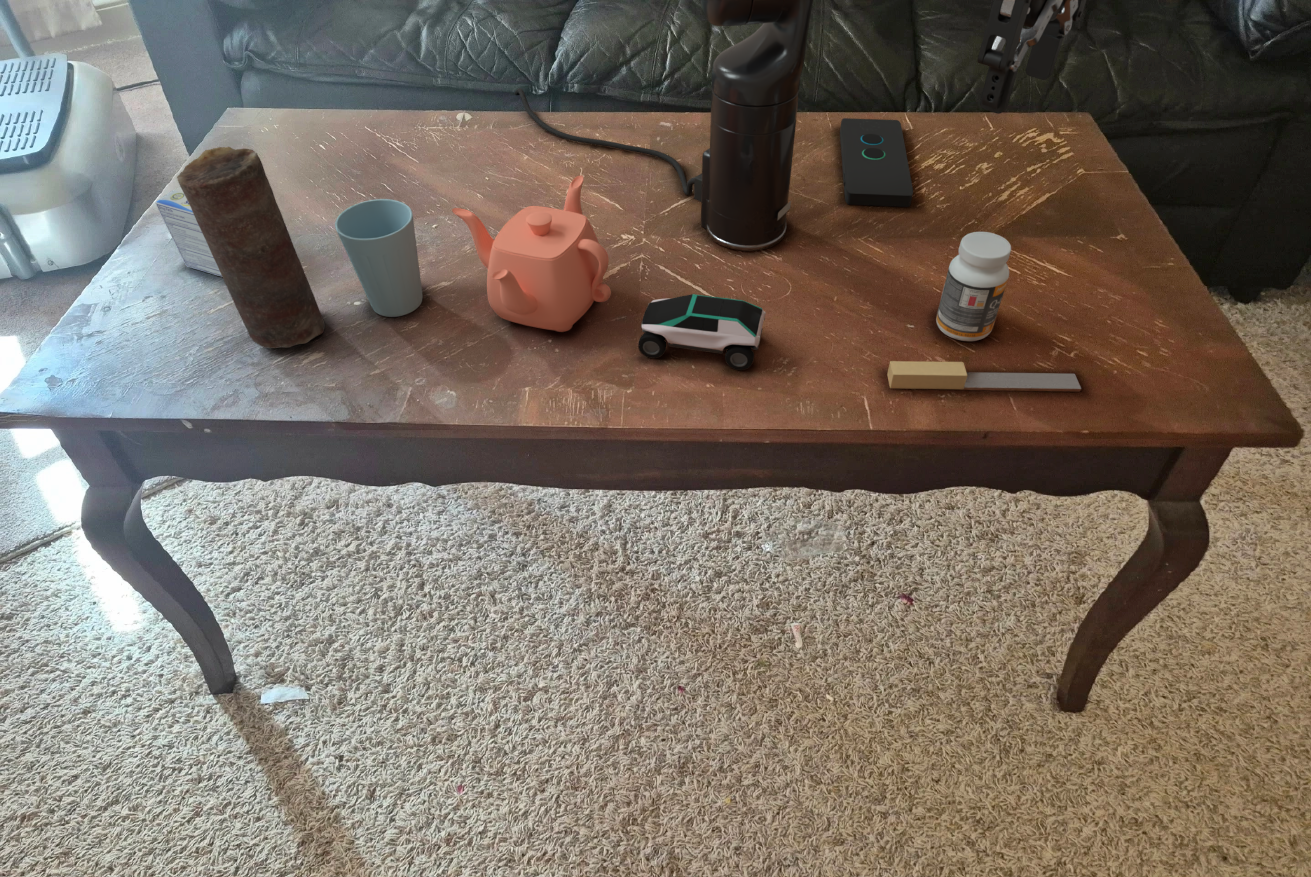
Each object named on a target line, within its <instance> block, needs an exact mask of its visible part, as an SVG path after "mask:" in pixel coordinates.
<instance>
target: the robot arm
mask: <svg viewBox="0 0 1311 877" xmlns="http://www.w3.org/2000/svg"><path fill="white" fill-rule="evenodd" d="M699 1H700V6H701V9H702V12H703V16H704V17H705V19H706V20H707V21H708V23H710V24H711V25H712V26H715V27H735V26H736V27H737V26H748V25H749V26H750V25H759V24H761V26H759V27H758V29H757V30H756V31H754V32H753V33H752V34H751V35H749V36H748V37H746V38H745V39H743V40H741V41H739V42H737V43H735V44H733V45H731V46H729V47H727V48H725V49H724V50H723V51H721V52H720V53H719V54H718V55H717V56H716V58H714V61H713V63H712V66H711V80H710V81H711V83H710V84H711V85H710V86H711V88H710V90H711V91H710V126H709V127H710V131H709V147H708V148H707V149H706V150H704V151H703V153H702V156H701V157H702V158H701V159H702V160H701V173H699V174H698V175H696V176H695V177H691V178H689V179H688V180H687V178H686V174H685V172H684V170H683V168H682V166H681V165H680V163H679V162H678V161H677V160H676V159H675V158H673V156H670V155H669V154H667V153H664V152H661V151H658V150H655V149H651V148H647V147H641V146H635V145H629V144H624V143H619V142H614V141H609V140H603V139H597V138H590V137H584V136H577V135H573V134H569V133H566V132H563V131H560V130H558V129H556V128H553V127H551V126H550V125H549V124H547V123H546V122H544V121H543V120H542V119H541V118H539V116H538V115H537V114H536V113H535V112H534V111H533V110H532V109H531V107H530V104H529V102H528V100H527V97H526V96H527V95H526V94H525V92H524V90H523V89H522V88H520V87H519V88H517V89H516V90H515V91H514V95H515V96H519V97H520V100H521V103H522V105H523V108H524V110H525V112H526V114H527V115H528V116H529V117H530V118H531V119H532V120H533V121H534V123H536V124H537V125H538V126H539V127H540V128H542V130H545V131H546V132H548V133H550V134H551V135H553V136H556V137H559V138H561V139H563V140H568V141H571V142H576V143H581V144H588V145H595V146H602V147H606V148H612V149H617V150H622V151H626V152H632V153H639V154H643V155H647V156H654V157H656V158H658V159H661V160H664V161H665V162H667V163H669V164H670V165H672V166H673V167H674V169H675V170H676V172H677V174H678V177H679V180H680V182H681V186H682V190H683V193H684V195H686V196H691V195H692V194H693V199H694V200H695V201H698V202H699V203H700V204H701V206H700V227H702V228H704V229H705V230H706V232H707V235H708V237H709V238H710V239H711V240H712V241H714V242H715V243H717V244H718V245H720V246H721V247H724V248H727V249H730V250H736V251H746V252H751V251H752V252H753V251H761V250H765V249H768V248H771V247H774V246H775V245H777V244H779V243H780V242H781V241H782V240H783V239H784V237H785V236H786V233H787V215H788V211H789V210H790V209H791V205H792V204H791V203H792V201H791V200H790V201H789V196H790V186H791V177H792V166H793V158H794V156H793V155H794V148H795V137H796V126H797V117H798V116H797V115H798V106H799V96H800V87H801V86H800V85H801V77H802V73H803V69H804V66H805V58H806V50H807V42H808V35H809V29H810V23H811V22H810V21H811V16H812V11H813V10H812V9H813V4H814V0H699ZM1086 3H1087V0H993V1H992V5H991V8H990V12H989V15H988V20H987V23H986V26H985V30H984V33H983V37H982V41H981V45H980V49H979V51H978V55H977V63H978V64H980V65H984V66H986V67H988V69H987V74H986V76H985V81H984V85H983V89H982V91H981V96H980V100H979V106H980V108H981V109H982V110H985V111H988V112H991V113H994V114H997V115H999V114H1002V113H1003V112H1005V111H1006V110H1007V109H1008V107H1009V102H1010V100H1011V96H1012V92H1013V89H1014V85H1015V82H1016V78H1017V76H1018V72H1019V67H1020V66H1021V64H1022V61H1023V59H1024V58H1025V56H1026V54H1027V51H1028V49H1029V48H1030V47H1031V50H1030V53H1029V57H1028V60H1027V64H1026V67H1025V74H1026V75H1027V76H1028V77H1031V78H1035V79H1038V80H1040V81H1041V80H1042V81H1046V80H1048V79H1049V78H1050V77H1052V75H1053V73H1054V70H1055V66H1056V64H1057V60H1058V57H1059V54H1060V52H1061V51H1060V50H1061V48H1062V45H1063V41H1064V38H1065V37H1064V36H1067V35H1068V34H1069V32H1070V31H1071V30H1072V27H1073V22H1079V21H1080V19H1081V18H1082V17H1083V14H1084V10H1085V6H1086ZM1026 27H1027V28H1026ZM1004 46H1005V47H1004ZM1003 49H1004V50H1003ZM693 186H694V187H693ZM693 192H694V193H693Z"/></svg>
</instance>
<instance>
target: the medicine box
mask: <svg viewBox="0 0 1311 877" xmlns="http://www.w3.org/2000/svg"><path fill="white" fill-rule="evenodd" d="M155 206H156V208H157V210H158V212H159V214H160V217H161V218H162V220H163V222H164V225H165V227H166V228H167V230H168V233H169V234H170V236H171V238H172V241H173V242H174V245H175V247H176V249H177V251H178V253H179V256H180V257H181V260H182V261H183V263H184V265H185V266H186V267H188V268H190V269H193V270H198V271H201V272H204V273H208V274H211V275H215V276H218V277H220V278H223V277H222V275H221V273H220V271H219V268H218V266H217V264H216V262H215V260H214V258H213V255H212V253H211V251H210V249H209V246H208V244H207V242H206V240H205V238H204V236H203V233H202V231H201V229H200V227H199V225H198V223H197V221H196V218H195V216H194V214H193V211H192V209H191V207H190V205H189V202H188V200H187V199H186V197H185V195H184V193H183V191H182V189H181V187H180V185H179V186H178V187H176V188H174V189H172V190H171V191H169V192H167V193H166V194H164V195H163V196H162V197H160V198H159V199H158V200H157V201H155Z"/></svg>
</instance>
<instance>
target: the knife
mask: <svg viewBox="0 0 1311 877" xmlns="http://www.w3.org/2000/svg"><path fill="white" fill-rule="evenodd" d="M886 375H887V379H888V385H889V388H890V389H909V390H910V389H912V390H963V391H999V392H1000V391H1001V392H1002V391H1004V392H1005V391H1006V392H1009V391H1010V392H1016V391H1017V392H1072V393H1073V392H1076V393H1077V392H1078V393H1080V392H1081V391H1082V386H1081V385H1080V383H1079V382H1080V381H1079V380H1078V378H1077V376H1076V374H1075V373H1060V372H1059V373H1055V372H1054V373H1053V372H1052V373H1051V372H1050V373H1049V372H1048V373H1047V372H982V371H981V372H979V371H978V372H977V371H976V372H975V371H974V372H973V371H967V369H966V366H965V363H964V362H963V361H922V360H921V361H918V360H917V361H916V360H915V361H913V360H912V361H907V360H906V361H905V360H890V361H889V365H888V370H887V374H886Z"/></svg>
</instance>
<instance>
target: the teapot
mask: <svg viewBox="0 0 1311 877" xmlns="http://www.w3.org/2000/svg"><path fill="white" fill-rule="evenodd" d="M584 180H585V179H584V176H583V175H577V176H575V177H574V178H573V179H572V181H570V184H569V186H568V188H567V193H566V197H565V200H564V201H565V202H564V206H563V209H559V208H554V207H547V206H541V205H528V206H526V207H524V208H522V209H521V210H519V211H518V212H517V213H515V214H514V215H513V216H512V217H511V218H510V219H509V220H507V222H506V223H505V224H504V225H503V227H501V229H500V230H499V231H498V233H497V234H496V236H495V238H493V237H492V236H491V234H490V233H489V231H488V230H487V228H486V226H485V224H484V223H483V221H482V220H481V219H480V218H479V217H478V216H477V215H476V214H475V213H474V212H472V211H470V210H468V209H465V208H460V207H454V208H452V209H451V212H452V213H453V214H454V215H456V216H457V217H458V218H460V219H461V221H463V222H464V224H465V225H466V226H467V228H468V230H469V232H470V235H471V237H472V241H473V244H474V247H475V251H476V254H477V256H478V258H479V260H480V262H481V263H482V265H483V266H484V267H485V269H487V273H486V274H487V275H486V276H487V277H486V290H487V300H488V302H489V306H490V307H491V310H493V311H494V313H495V314H496V315H497V316H498V317H499V318H501V319H502V320H503V319H504V320H506V321H509V322H512V323H516V324H519V325H523V326H527V327H531V328H532V327H533V328H538V329H543V330H549V331H555V332H559V333H564V332H569V331H570V330H571V329H572V328H573V325H574V324H575V323H577V322H578V321H579V320H580V319H581V318H582V317H583V316H584V315H585V314H586V313H587V312H588V311H589V309H590V308H591V307H592V305H593V304H594V302H596V303H604V302H606V301H608V300H609V298H610V297H611V293H612V290H611V288H610V286H608V284H606V283H603V281H604V277H605V275H606V273H607V270H608V267H609V262H610V260H609V259H610V258H609V254H608V251H607V250H606V248H605V247H603V245H601V244H600V242H599V240H598V237H597V235H596V233H595V231H594V228H593V226H592V224H591V222H590V221H589V218H588V217H587V216H585V215H584V214H583V208H582V202H581V196H582V194H581V193H582V188H583V184H584Z"/></svg>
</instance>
